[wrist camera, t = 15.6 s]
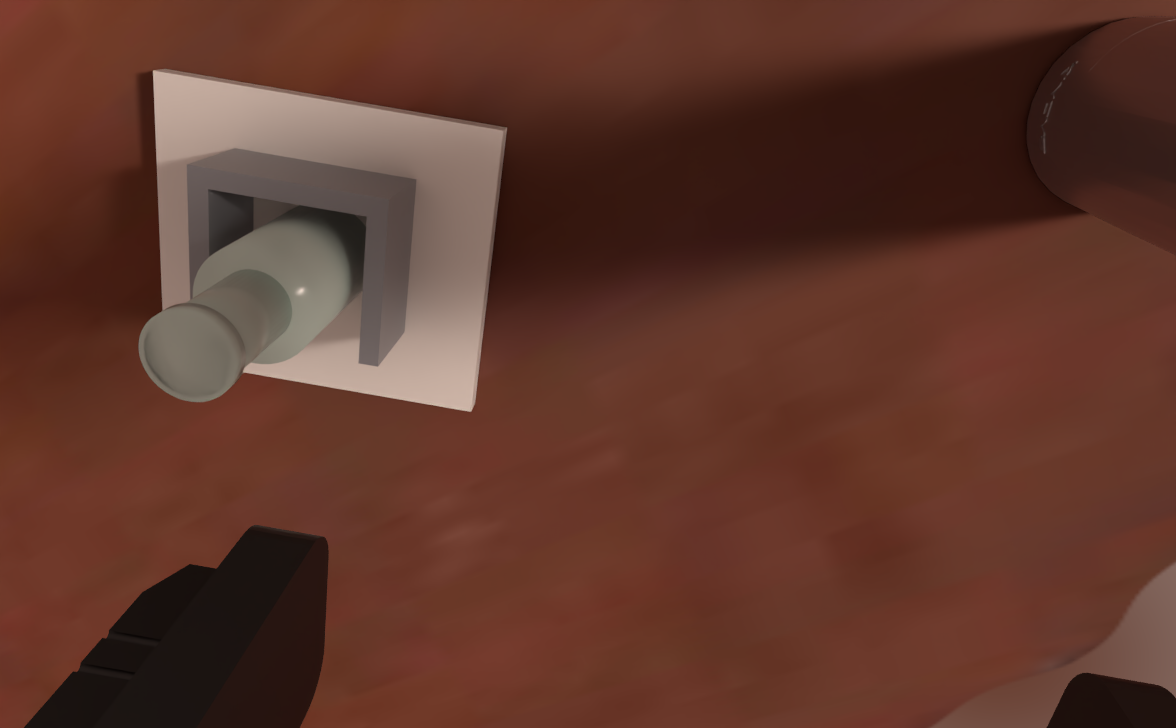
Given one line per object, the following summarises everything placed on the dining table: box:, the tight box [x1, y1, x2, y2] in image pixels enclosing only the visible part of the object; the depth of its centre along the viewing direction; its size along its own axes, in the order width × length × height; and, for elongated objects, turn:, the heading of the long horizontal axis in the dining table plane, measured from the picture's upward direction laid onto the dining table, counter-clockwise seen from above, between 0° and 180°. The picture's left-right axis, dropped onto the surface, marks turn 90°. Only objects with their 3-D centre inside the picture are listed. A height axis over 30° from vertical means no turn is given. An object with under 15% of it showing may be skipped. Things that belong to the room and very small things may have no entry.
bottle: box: [139, 205, 366, 402], centre depth 40 cm, size 6×6×15 cm
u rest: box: [153, 69, 507, 412], centre depth 45 cm, size 18×16×6 cm
